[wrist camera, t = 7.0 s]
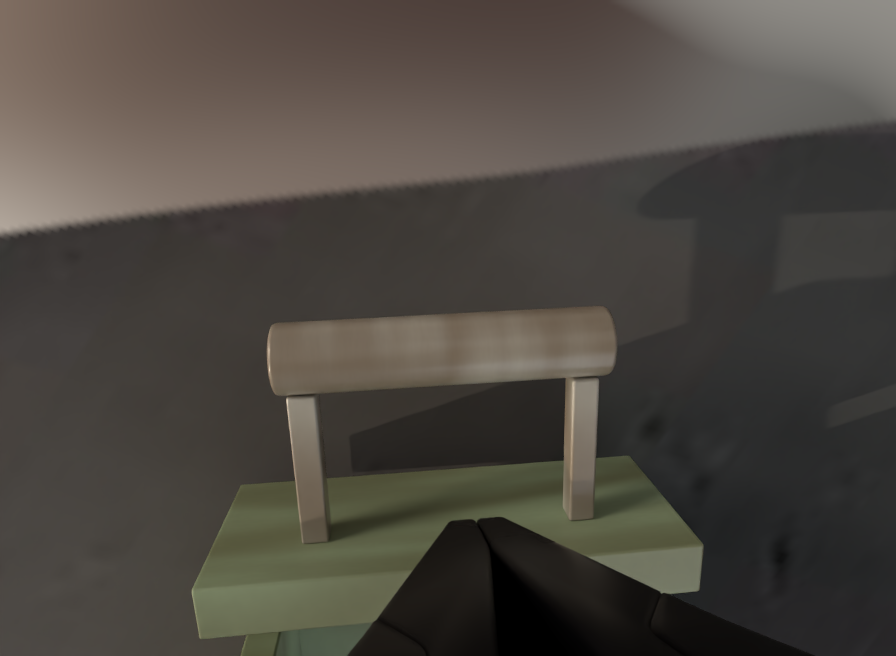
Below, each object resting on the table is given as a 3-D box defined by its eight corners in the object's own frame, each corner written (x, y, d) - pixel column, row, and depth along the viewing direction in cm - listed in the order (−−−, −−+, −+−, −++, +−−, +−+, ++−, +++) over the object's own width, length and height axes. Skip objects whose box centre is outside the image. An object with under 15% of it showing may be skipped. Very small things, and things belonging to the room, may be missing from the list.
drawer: (215, 300, 14) (149, 350, 10) (639, 279, 15) (726, 318, 11) (291, 851, 19) (265, 1029, 15) (609, 811, 20) (664, 968, 16)
